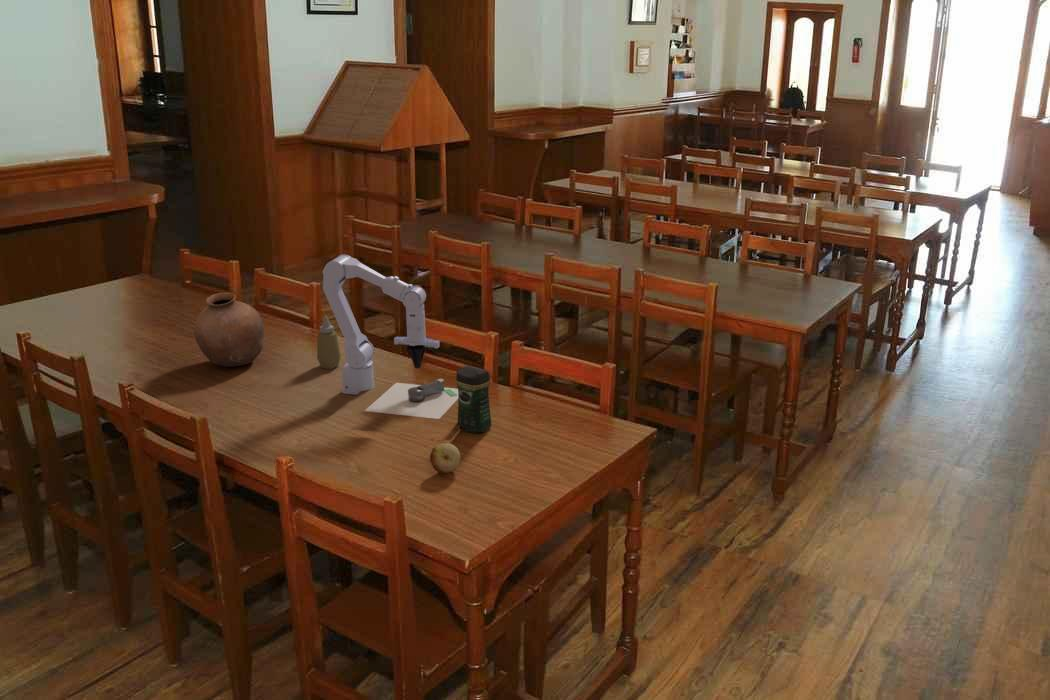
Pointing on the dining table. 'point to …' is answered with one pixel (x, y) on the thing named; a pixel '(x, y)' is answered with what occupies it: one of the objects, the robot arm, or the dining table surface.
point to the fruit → (445, 457)
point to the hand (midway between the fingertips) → (417, 367)
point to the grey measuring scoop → (425, 390)
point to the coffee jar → (473, 399)
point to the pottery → (229, 331)
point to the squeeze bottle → (328, 346)
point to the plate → (400, 405)
